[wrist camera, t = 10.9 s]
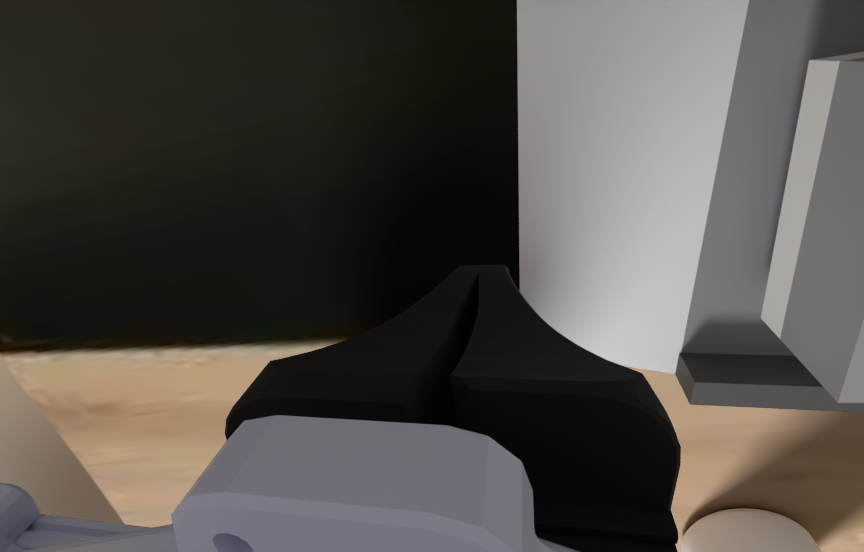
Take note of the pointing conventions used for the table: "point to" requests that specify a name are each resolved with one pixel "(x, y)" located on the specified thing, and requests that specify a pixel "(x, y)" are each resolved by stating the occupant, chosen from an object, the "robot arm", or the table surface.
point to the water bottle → (747, 533)
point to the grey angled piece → (824, 232)
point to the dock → (668, 181)
